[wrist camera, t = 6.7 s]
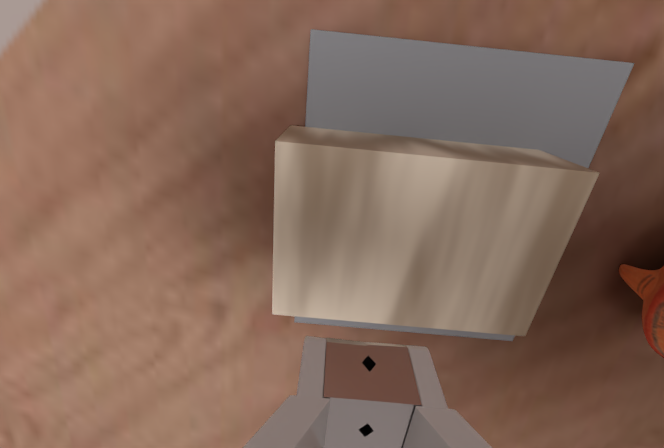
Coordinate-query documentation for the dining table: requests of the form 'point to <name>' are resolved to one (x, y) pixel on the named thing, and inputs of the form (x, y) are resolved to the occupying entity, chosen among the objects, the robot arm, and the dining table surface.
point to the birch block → (419, 229)
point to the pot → (649, 301)
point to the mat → (459, 103)
